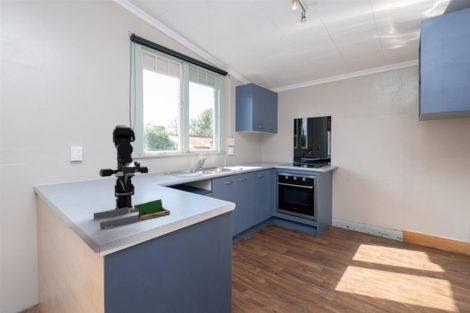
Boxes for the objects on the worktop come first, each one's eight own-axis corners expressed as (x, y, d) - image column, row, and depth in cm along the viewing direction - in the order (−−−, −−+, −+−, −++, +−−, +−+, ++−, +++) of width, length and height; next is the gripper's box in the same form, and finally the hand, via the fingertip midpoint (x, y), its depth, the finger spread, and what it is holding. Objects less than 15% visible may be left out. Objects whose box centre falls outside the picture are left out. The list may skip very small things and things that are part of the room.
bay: (157, 206, 116) (157, 204, 116) (169, 213, 104) (169, 210, 104) (130, 211, 107) (130, 208, 107) (140, 220, 95) (140, 216, 95)
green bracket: (153, 219, 109) (156, 201, 113) (161, 218, 106) (164, 199, 110) (130, 216, 101) (134, 196, 104) (137, 215, 97) (142, 194, 101)
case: (128, 212, 107) (127, 207, 107) (138, 220, 95) (138, 214, 95) (93, 218, 98) (93, 213, 98) (100, 229, 86) (100, 222, 86)
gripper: (104, 157, 86) (105, 197, 87) (152, 155, 98) (153, 190, 99) (98, 155, 95) (99, 192, 96) (143, 154, 107) (144, 186, 108)
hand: (125, 190), depth 99 cm, fingers closed
